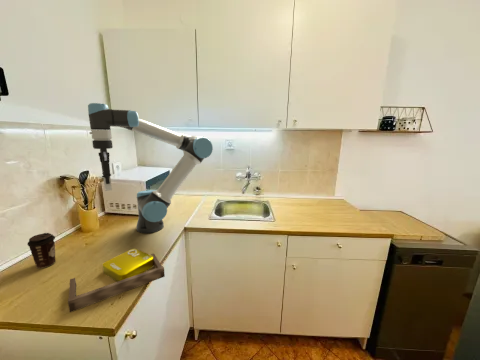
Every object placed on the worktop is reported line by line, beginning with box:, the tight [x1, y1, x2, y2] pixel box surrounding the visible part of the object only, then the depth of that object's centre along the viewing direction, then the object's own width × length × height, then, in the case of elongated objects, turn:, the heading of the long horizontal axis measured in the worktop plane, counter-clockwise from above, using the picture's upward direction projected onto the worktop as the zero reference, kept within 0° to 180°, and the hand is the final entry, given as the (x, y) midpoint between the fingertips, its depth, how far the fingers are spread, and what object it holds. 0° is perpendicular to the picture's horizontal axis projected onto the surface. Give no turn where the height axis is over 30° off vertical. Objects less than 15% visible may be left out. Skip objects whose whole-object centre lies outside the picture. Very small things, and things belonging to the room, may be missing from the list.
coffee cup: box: [27, 232, 56, 269], centre depth 91 cm, size 9×8×13 cm
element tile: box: [102, 248, 155, 282], centre depth 90 cm, size 15×15×5 cm
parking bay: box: [67, 253, 165, 313], centre depth 82 cm, size 30×14×4 cm, turn 126°
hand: (108, 190), depth 101 cm, fingers closed
